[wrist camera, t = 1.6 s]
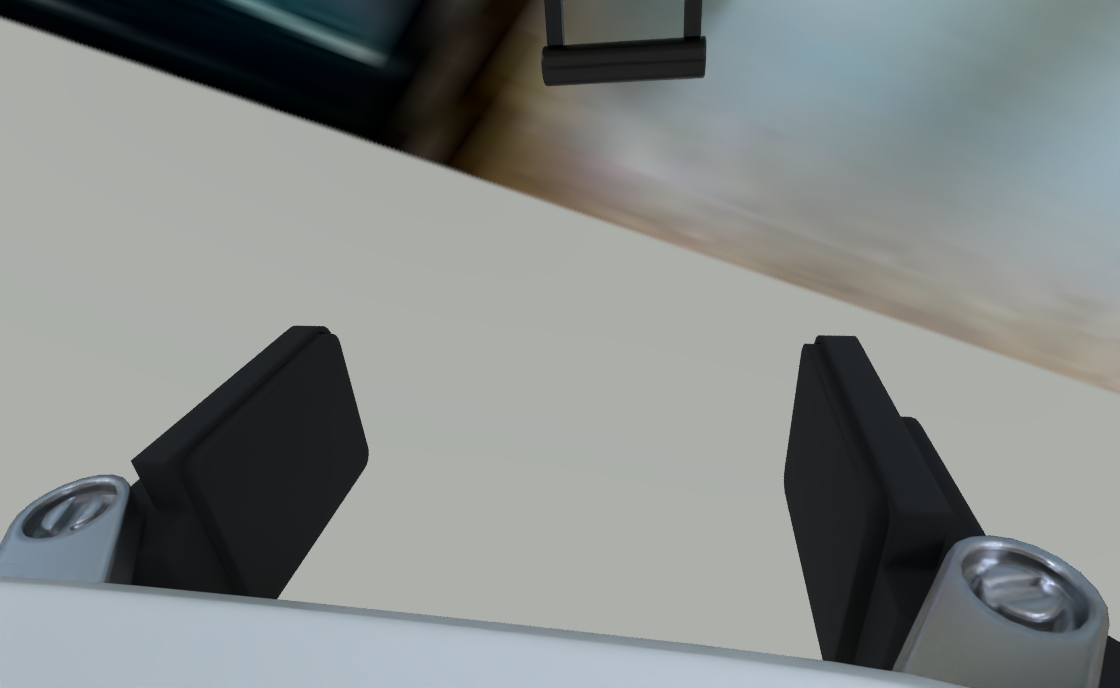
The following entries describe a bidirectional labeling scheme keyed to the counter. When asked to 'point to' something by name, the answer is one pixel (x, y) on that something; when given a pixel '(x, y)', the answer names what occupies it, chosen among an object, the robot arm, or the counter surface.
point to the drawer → (623, 54)
